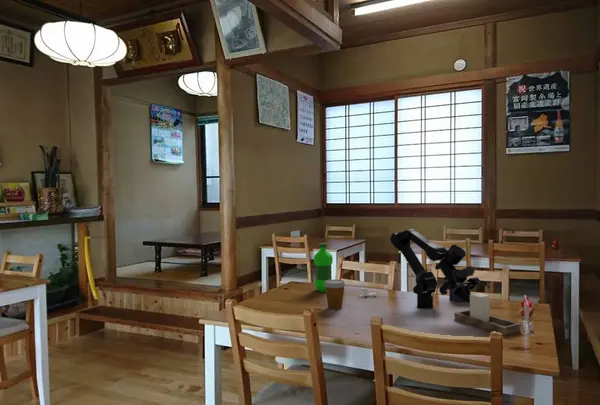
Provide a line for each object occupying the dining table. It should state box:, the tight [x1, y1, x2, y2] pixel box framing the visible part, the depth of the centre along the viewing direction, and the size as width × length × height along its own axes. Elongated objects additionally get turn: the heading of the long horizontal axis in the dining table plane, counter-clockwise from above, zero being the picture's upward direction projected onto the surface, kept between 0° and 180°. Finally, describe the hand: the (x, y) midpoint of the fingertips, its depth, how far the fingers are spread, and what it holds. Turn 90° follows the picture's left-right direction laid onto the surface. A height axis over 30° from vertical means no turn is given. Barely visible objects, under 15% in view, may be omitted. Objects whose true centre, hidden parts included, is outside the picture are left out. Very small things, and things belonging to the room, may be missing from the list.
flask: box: [448, 279, 472, 302], centre depth 209 cm, size 10×3×12 cm, turn 87°
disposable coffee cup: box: [324, 279, 346, 310], centre depth 201 cm, size 10×10×12 cm
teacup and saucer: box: [359, 287, 377, 299], centre depth 222 cm, size 9×8×4 cm
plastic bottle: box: [313, 242, 334, 293], centre depth 235 cm, size 10×10×25 cm
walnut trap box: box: [453, 309, 522, 337], centre depth 172 cm, size 23×9×3 cm, turn 28°
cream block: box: [469, 292, 490, 321], centre depth 174 cm, size 5×5×10 cm
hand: (471, 303), depth 177 cm, fingers closed
